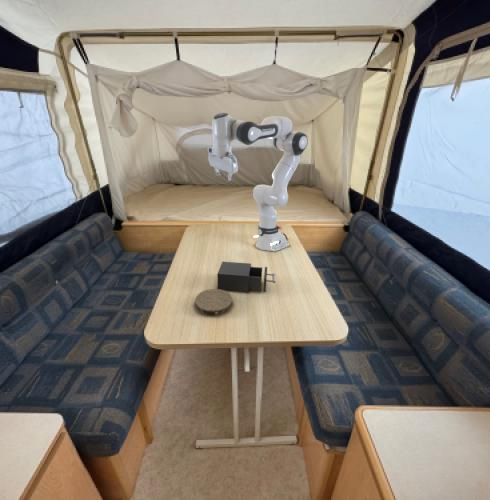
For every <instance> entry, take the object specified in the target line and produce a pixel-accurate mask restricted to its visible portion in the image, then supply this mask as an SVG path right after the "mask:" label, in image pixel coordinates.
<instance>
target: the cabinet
mask: <svg viewBox="0 0 490 500" xmlns="http://www.w3.org/2000/svg"><path fill="white" fill-rule="evenodd" d="M251 267H252V263H250V262H234V261H221V264H220V266H219V269H218V271H217V274H216V275H217V277H216V278H217V289H220V290H224V291H226V292H234V293H244V294H247V293H248V294H249V290H250V289H248V285H249V273H250V268H251Z"/></svg>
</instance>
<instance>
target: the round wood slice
mask: <svg viewBox="0 0 490 500" xmlns="http://www.w3.org/2000/svg"><path fill="white" fill-rule="evenodd" d="M194 301H195V302H194V303H195V309H196V311H197V312H198V313H199V314H201V315H203V316H207V317H219V316H222V315H225V314H227V313H228V312H230V310H231V309H232V306H233V298H232V296H231V294H230V293H229V291H224V290H220V289H218V288H210V289H206V290H203V291H200V292H199V293H198V294H197V295H196V296H195V299H194Z"/></svg>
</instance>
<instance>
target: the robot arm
mask: <svg viewBox="0 0 490 500" xmlns="http://www.w3.org/2000/svg"><path fill="white" fill-rule="evenodd" d="M211 135H212V137H213V142H212V146H210V147H207V152H208V164H209V166H210V167H212V168H213V169H214V172H215V176H216V177H221V172H220V170H221V171H224V172H226V173H227V176H226V180H227V181H229V182H230V181H232V176H233V175H234V174H236V173H238V171H239V165H238V159H237V157H236V155H235V153H232V142H233V141H234V142H237V143H241V144H243V145H246V146H249V145H250V146H251V145H252V144H255V143H256V142H257V141H259V140H264V139H271V140H272V144H273V145H272V146H273V147H274V149H276V150H278V151H283V155H282V157H281V159H280V160H279V162H278V163H277V164H276V167H275V168H274V169H273V172H272V173H271V178H272V180H273V181H272V184H271V185H268V184H257V185H255V186H254V188H253V189H252V197H253V199H254V200H255V203H256V205H257V208H258V216H259V217H258V219H259V221H258V226H257V235H253V238H257V239H256V242H255V247H256V248H257V249H259V250H261V251H270V252H277V251H279V250H282V249H285V248H287V247H289V246H290V243H289V242H288V241H287V240H288V236H287V235H286V233H284V232H281V230H282V229H283V227H282V226H280V225H278V224H277V223H278V212H277V211H276V210H275V208H283V207H285V206H286V205H287V203H288V202H289V194H288V191H287V190H288V189H287V188H288V185H289V183H290V181H291V178H292V177H293V175H294V173H295V172H296V170H297V167H298V165H299V163H300V160H301V155H302V154H303V153H304V152H305V150H306V148H307V146H308V143H309V139H308V135H307V134H306V133H304V132H301V131H295V130H293V122H292V120H291V119H290V118H289V117H286V116H281V115H272V116H268V117H265V118H263V120H262V121H261V123H260V124H257V123H256V122H253V121H247V120H242V119H237V118H234V117H232V116H231V115H230V114H229V113H227V112H220V113H217V114H215V115H214V116H213V117H212V123H211Z"/></svg>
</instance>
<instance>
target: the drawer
mask: <svg viewBox="0 0 490 500" xmlns="http://www.w3.org/2000/svg"><path fill="white" fill-rule="evenodd" d="M268 276H271V277H272V280H271V279H267V278H268ZM262 277H263V279H262ZM262 280H263V286H262ZM267 282H268V283H272V284H276V273H268V266H264V273H263V267H259V266H251V268H250V273H249V285H248V289H249V290H252V291H261V289H262V291H263V293H266V292H267ZM262 287H263V288H262Z"/></svg>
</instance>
